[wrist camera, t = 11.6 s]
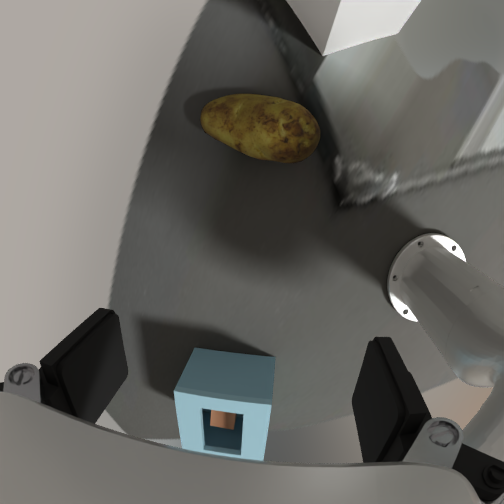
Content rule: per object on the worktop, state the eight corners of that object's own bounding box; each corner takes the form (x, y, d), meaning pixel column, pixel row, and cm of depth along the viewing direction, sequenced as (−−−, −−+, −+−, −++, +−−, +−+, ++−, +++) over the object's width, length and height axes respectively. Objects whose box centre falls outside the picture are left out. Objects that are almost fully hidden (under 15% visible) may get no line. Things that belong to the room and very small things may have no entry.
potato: (237, 73, 33) (225, 51, 25) (325, 131, 34) (336, 122, 26) (198, 127, 35) (176, 118, 28) (285, 185, 36) (285, 191, 29)
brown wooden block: (243, 371, 43) (237, 398, 38) (239, 403, 45) (233, 429, 40) (220, 367, 44) (212, 393, 38) (217, 399, 46) (210, 425, 40)
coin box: (275, 357, 43) (271, 404, 33) (267, 419, 47) (262, 465, 37) (194, 347, 44) (173, 390, 34) (198, 410, 48) (183, 453, 38)
